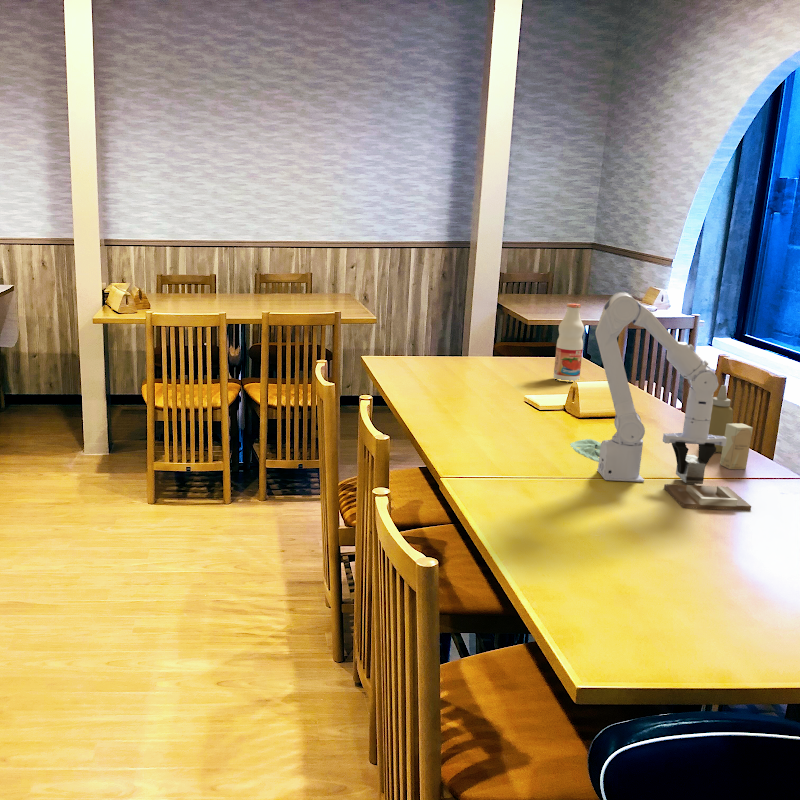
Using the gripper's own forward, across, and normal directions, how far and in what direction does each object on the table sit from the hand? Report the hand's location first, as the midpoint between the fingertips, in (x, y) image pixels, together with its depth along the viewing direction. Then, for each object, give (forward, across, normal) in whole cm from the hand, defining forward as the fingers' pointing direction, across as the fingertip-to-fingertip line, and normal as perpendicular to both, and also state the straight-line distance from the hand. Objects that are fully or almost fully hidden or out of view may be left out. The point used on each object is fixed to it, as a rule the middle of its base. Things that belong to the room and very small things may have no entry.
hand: (689, 473), depth 209 cm
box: (+3, +17, +15) cm, 23 cm away
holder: (+2, 0, -11) cm, 11 cm away
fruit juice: (+3, -4, +115) cm, 115 cm away
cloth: (+4, -14, +23) cm, 27 cm away
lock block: (+2, 0, 0) cm, 2 cm away
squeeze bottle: (+3, +18, +30) cm, 35 cm away
